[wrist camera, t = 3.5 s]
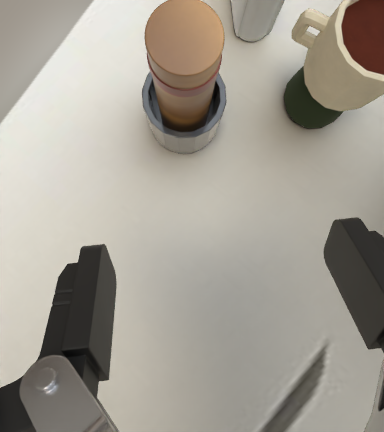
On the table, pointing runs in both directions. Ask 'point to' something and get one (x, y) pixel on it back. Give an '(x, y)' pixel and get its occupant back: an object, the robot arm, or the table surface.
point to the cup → (189, 139)
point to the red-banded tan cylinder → (184, 60)
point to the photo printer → (254, 17)
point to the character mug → (337, 62)
